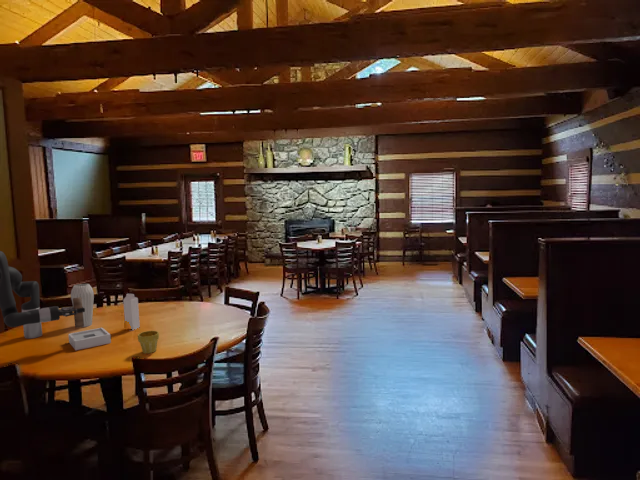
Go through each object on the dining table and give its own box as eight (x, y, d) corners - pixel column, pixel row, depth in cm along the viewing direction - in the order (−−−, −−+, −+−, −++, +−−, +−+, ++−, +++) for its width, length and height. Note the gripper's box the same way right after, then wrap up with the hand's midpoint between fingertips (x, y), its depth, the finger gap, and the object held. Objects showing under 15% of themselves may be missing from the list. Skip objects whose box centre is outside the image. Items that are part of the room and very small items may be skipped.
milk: (132, 327, 296) (129, 292, 294) (140, 327, 294) (137, 293, 292) (125, 329, 290) (122, 294, 288) (133, 330, 288) (130, 295, 286)
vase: (68, 328, 298) (64, 287, 295) (83, 322, 311) (80, 282, 308) (86, 328, 294) (82, 287, 292) (101, 322, 307) (97, 283, 305)
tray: (69, 342, 268) (68, 333, 268) (102, 335, 279) (102, 327, 279) (75, 350, 254) (74, 341, 254) (110, 342, 265) (110, 334, 265)
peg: (75, 325, 264) (73, 297, 262) (84, 324, 266) (82, 297, 264) (74, 328, 260) (72, 299, 258) (83, 326, 262) (81, 298, 260)
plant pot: (142, 356, 242) (140, 337, 241) (136, 351, 250) (135, 333, 249) (162, 351, 248) (161, 333, 247) (156, 346, 256) (155, 329, 255)
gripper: (50, 309, 247) (85, 304, 257) (46, 305, 258) (80, 300, 269) (51, 323, 248) (86, 317, 258) (47, 318, 259) (81, 313, 269)
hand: (83, 308), depth 263 cm, fingers closed on peg, 4 cm apart
